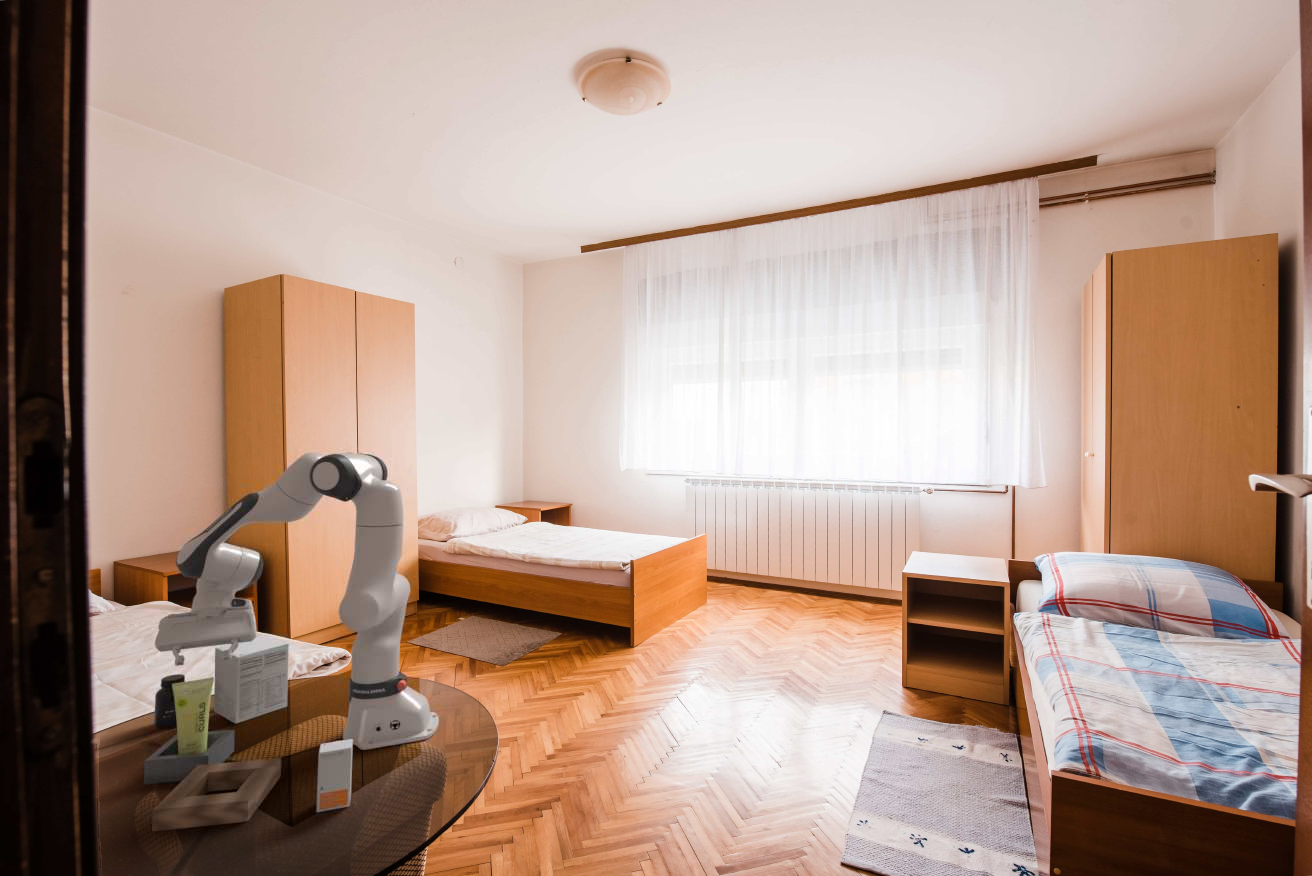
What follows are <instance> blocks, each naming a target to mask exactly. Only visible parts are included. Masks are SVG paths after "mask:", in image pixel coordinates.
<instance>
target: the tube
mask: <svg viewBox="0 0 1312 876" xmlns="http://www.w3.org/2000/svg"><path fill="white" fill-rule="evenodd" d="M214 683H215V676H213V677H206V678H200V679H199V678H198V679H195V680H194V679H193V680H189V681H185V682H181V683H175V684H172V688H173V693H174V700H175V709H176V720H177V727H176V730H177V731H176V732H177V733H176V734H177V735H178V755H181V754H193V753H204V752H205V751H206V750H207V735H208V732H209V731H208V730H209V719H210V707H211V700H212V691H213V686H214Z"/></svg>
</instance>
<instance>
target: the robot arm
mask: <svg viewBox="0 0 1312 876" xmlns="http://www.w3.org/2000/svg"><path fill="white" fill-rule="evenodd" d="M324 496H327V497H330V498H333V499H335V500H338V501H342V502H344V503H345V502H348V501H351V502H353V504H354V506H355V509H356V510H355V511H356V513H355V530H354V531H355V534H354V535H355V536H354V554H353V559H352V565H351V568H350V569H351V570H350V573H349V577H348V582H347V584H346V585H347V586H346V590H345V593H344V596H343V598H342V600H341V602H340V603H339V607H338V617H339V619H340V621H341V623H342V624H343V625H344V626H345V627H346V628H347V629H349V630H352V631H355V632H356V631H357V632H356V633H357V634H356V636H355V640H354V642H353V644H352V648H351V677H350V678H349V681H348V682H349V683H348V702H349V707H348V714H347V720H346V724H345V727H344V731H343V733H342V740H349V739H353V746H356V747H358V749H360V750H363V751H364V750H372V749H377V748H383V747H388V746H396V745H402V744H406V743H407V744H408V743H412V742H413V743H414V742H418V741H423V740H427V739H429V738H430V737H432V736H434V734H435V733H436V732H437V729H439V725H440V719H439V715H438V713H436V712H434V711H431V709H430V704H429V701H428V699H427V697H426V696H425V695H423V694H421V693H419V692H418V691H417V690H415V689H413V688H412V687H409V686H408V672H405V674H404V673H403V672H401V671H400V655H401V654H400V653H401V652H400V645H401V639H402V638H401V637H402V632H403V627H404V623H405V622H404V621H405V617H406V610H407V603H408V600H409V599H410V598H409V597H410V596H411V585H410V582H409V580H408V579H407V577H405V576H404V575H403V574H400V573H398V572H397V570H398V566H399V562H400V560H401V557H402V555H403V534H404V507H403V498H402V494H401V489H400V487H399V486H398V485H397V484H396V483H394V482H392V481H390V480H388V468H387V465H386V463H385V462H384V461H383V460H382V459H381V458H379V457H378V456H376V455H373V454H368V453H363V454H362V453H355V452H343V453H331V454H327V455H324V454H322V453H319V452H311V451H310V452H307V453H304V454H302V455H301V456H299V457H298V458H297V459H296V460H295V461H294V462H293V463H291V464H290V465H289V466H288V467H287V468H286V469H285V471H283V472H282V474H281V475H279V477H278V478H277V480H276V481H275V482H273V483H272V484H271V485H270V486H268V487H266V488H265V489H262V490H260V491H257V492H251V493H248V494H246V495H245V496H243V497H241V498H240V499H239V500H238V501H237V502H235V503H234V504H233V505H232V506H230V508H228V509H227V510H225V512H224V513H222V514H221V515H220V516H219V517H218V518H217V519H215V520H214V522H211V524H210V525H209V526H207V528H205V529H204V530H203V531H202V532H201V533H199V534H198V535H196V536H194V537H193V538H191V539H190V540H188V541H187V542H186V543H185V544H184V545H183V546H182V547H181V548H180V550H179V552H178V553H177V555H176V559H175V565H176V568H177V569H178V571H179V572H180V574H182V576H183V577H185V578H190V579H191V578H192V579H197V581H196V585H195V586H196V587H195V588H196V594H195V595H194V597H193V599H192V605H191V610H190V611H189V612H180V613H170V614H168V615H166V616H164V617H163V618H161V619H160V620H159V623H158V627H157V628H158V632H157V634H156V637H155V641H154V646H155V648H156V650H158V651H159V652H161V653H162V652H163V653H164V652H170V651H171V652H172V655H173V657H174V665H175V666H176V667H177V666H183V665H184V663H185V660H186V659H185V656H184V654H182V655H180V654H181V651H182V650H189V649H197V648H205V647H214V646H215V647H216V646H224V645H228V644H231V645H232V646H231V647H230V648H229V649H228V650H224V655H223V658H224V660H227V659H231V657H232V653H233V652H234V651H235V650H236V648H237V647H238V645H239V643H242V642H251V641H253V640H254V639H255V638H257V631H258V630H257V622H256V615H255V611H254V610H255V609H254V606H253V602H252V600H250V599H247V598H241V597H239V598H238V597H235V595H236V593H237V592H238V591H239V592H240V591H243V590H244V589H247V588H248V587H249V586H252V585H254V584H256V582H257V581H258V580H259V579H260V578H261V576H262V573H263V571H264V570H263V569H264V568H263V567H264V560H263V557H262V555H261V553H260V552H258V551H256V550H253V549H249V548H246V547H242V546H238V545H233V544H229V543H226V542H225V541H226V540H227V539H229V538H230V537H231V536H232V535H233V534H234V533H236V532H237V531H238V530H239V529H240V528H242V527H243V526H245V525H249V524H254V523H256V524H257V523H291V522H295V521H299V520H301V519H303V518H304V517H306V516H307V515H308V514H310V513H311V511H312V510H313V509H314V508H315V507H316V506H317V504H318V503H319V502H320V500H321V499H322V498H323V497H324Z"/></svg>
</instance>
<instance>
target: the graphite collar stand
mask: <svg viewBox="0 0 1312 876" xmlns="http://www.w3.org/2000/svg"><path fill="white" fill-rule="evenodd" d="M235 733H236V732H235V729H226V730H212V731H208V735H207V750H206V751H205V752H204V753H193V754H181V755H178V735H177V733H176V734H175V735H173V736H172V737H171V738H170V739H169V740H168V741H166V743H164V744H163V745H162V746H161V747H159V748H158V749H157V750H155V752H153V753H152V754H151V755H150V756H149V757H147V758H146V759H145V760H144V767H143V768H144V770H143V773H144V774H143V779H144V780H143V785H151V784H152V785H153V784H163V783H164V784H165V783H172V782H174V783H175V782H182V781H183V780H184V779H185V778H186V777H187V776H188V775H189V774H190V773H191V772H192V771H193V770H194V769H195V768H196V767H197V766H198V765H207V764H219V763H225V761H226V760H227V759H228V758H229V757H230V756H231V755H232V754H233V752H235Z"/></svg>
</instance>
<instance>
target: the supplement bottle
mask: <svg viewBox="0 0 1312 876" xmlns="http://www.w3.org/2000/svg"><path fill="white" fill-rule="evenodd" d="M185 679H186V676H185V674H179V673H178V674H171V675H166V676H164V677H162V678H161V680H160V687H161V688H160V689H158V690H157V691H156V693H155V696H154V697H155V699H154V700H155V701H154V717H153V719H154V720H153V721H154V722H153V726H154V728H155V729H158V730H169V729H174V728H177V720H176V709H175V700H174V693H173V688H172V684H175V683H181V682H186V681H185Z"/></svg>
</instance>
